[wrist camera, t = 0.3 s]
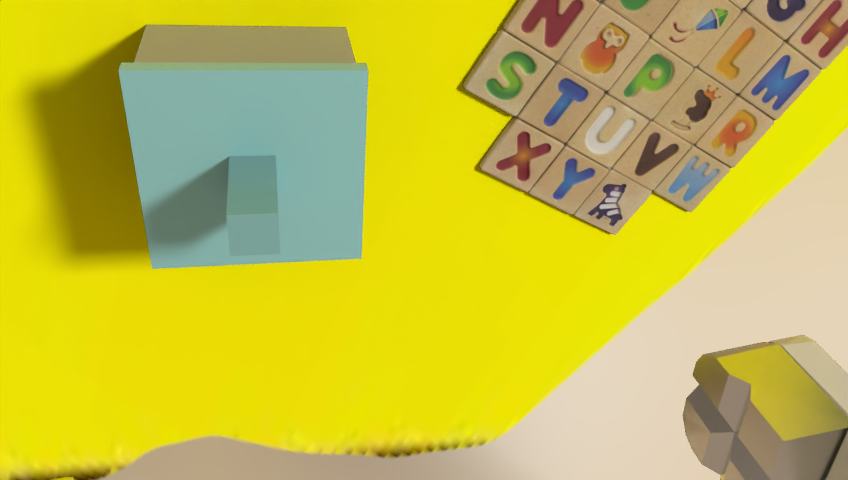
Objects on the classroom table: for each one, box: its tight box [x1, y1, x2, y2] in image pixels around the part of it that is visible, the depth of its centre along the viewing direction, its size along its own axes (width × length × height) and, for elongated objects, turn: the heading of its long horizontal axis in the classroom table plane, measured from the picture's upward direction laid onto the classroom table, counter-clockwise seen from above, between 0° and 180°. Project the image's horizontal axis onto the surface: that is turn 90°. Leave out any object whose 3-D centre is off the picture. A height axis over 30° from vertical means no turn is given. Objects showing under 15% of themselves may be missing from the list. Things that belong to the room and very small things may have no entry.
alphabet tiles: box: [463, 0, 848, 234], centre depth 60 cm, size 28×33×1 cm
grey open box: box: [134, 25, 356, 63], centre depth 54 cm, size 14×14×8 cm
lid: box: [118, 62, 368, 269], centre depth 48 cm, size 15×15×9 cm
